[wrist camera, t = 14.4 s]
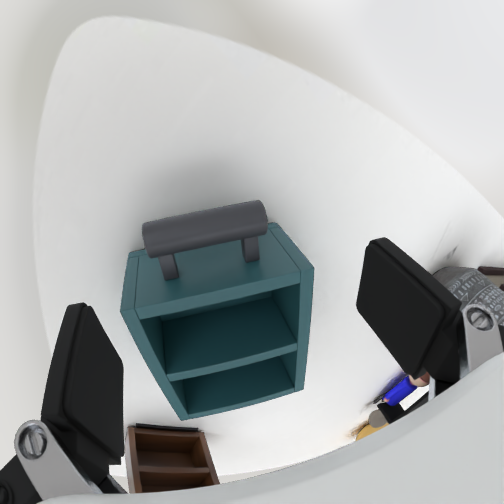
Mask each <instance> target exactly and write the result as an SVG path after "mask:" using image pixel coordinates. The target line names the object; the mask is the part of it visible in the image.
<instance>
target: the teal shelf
mask: <svg viewBox="0 0 504 504" xmlns="http://www.w3.org/2000/svg"><path fill="white" fill-rule="evenodd" d="M142 234H143V240H144V245H145V249H144V250H139V251H135V252H130V253H129V255H128V260H127V266H126V272H125V278H124V285H123V292H122V299H121V307H120V312H121V314H122V317H123V319H124V321H125V323H126V325H127V327H128V329H129V331H130V333H131V335H132V337H133V339H134V341H135V343H136V345H137V347H138V349H139V351H140V353H141V354H142V356H143V358H144V360H145V362H146V364H147V366H148V367H149V369H150V371H151V373H152V374H153V376H154V378H155V380H156V381H157V383H158V385H159V386H160V388H161V390H162V391H163V393H164V395H165V396H166V398H167V400H168V401H169V403H170V404H171V406H172V408H173V409H174V411H175V412H176V414H177V415H178V417H179V418H180V420H181V421H183V420H188V419H190V418H191V419H193V418H198V417H203V416H208V415H213V414H217V413H222V412H226V411H230V410H235V409H239V408H243V407H246V406H250V405H254V404H258V403H261V402H265V401H268V400H272V399H275V398H278V397H281V396H285V395H288V394H291V393H294V392H297V391H300V390H303V389H304V381H305V372H306V363H307V354H308V344H309V333H310V322H311V309H312V296H313V280H314V267H313V265H312V264H311V263H310V262H309V261H308V259H307V258H306V257H305V256H304V255H303V253H302V252H301V251H300V250H299V249H298V247H297V246H296V245H295V244H294V243H293V241H292V240H291V239H290V238H289V237H288V236H287V234H286V233H285V232H284V231H283V230H282V228H281V227H280V226H279V225H278V224H277V223H276V222H274V223H269V224H268V221H267V215H266V211H265V208H264V206H263V204H262V202H261V201H259V200H256V201H251V202H245V203H240V204H234V205H229V206H223V207H218V208H213V209H208V210H203V211H198V212H193V213H188V214H183V215H178V216H173V217H169V218H164V219H159V220H155V221H150V222H146V223H144V224H143V225H142Z"/></svg>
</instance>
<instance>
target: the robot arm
mask: <svg viewBox="0 0 504 504" xmlns="http://www.w3.org/2000/svg"><path fill="white" fill-rule="evenodd" d="M461 305H462V302H461V301H460V300H459V299H457V298H456V297H455V296H454V295H453V294H452V293H451V292H450V291H449V290H448V289H447V288H446V287H444V286H443V285H442V284H441V283H440V282H439V281H438V280H437V279H435V278H434V277H433V276H432V275H431V274H430V273H429V272H427V271H426V270H425V269H424V268H423V267H422V266H420V265H419V264H418V263H417V262H416V261H415V260H413V259H412V258H411V257H410V256H409V255H407V254H406V253H405V252H404V251H402V250H401V249H400V248H399V247H398V246H396V245H395V244H394V243H393V242H391V241H390V240H389V239H387V238H385V237H383V238H379V239H375V240H371V241H370V242H369V245H368V246H367V247H366V250H365V256H364V262H363V269H362V275H361V280H360V286H359V291H358V296H357V302H356V306H357V310H358V312H359V313H360V314H361V316H362V317H363V318H364V319H365V321H366V322H367V323H368V324H369V326H370V327H371V328H372V330H373V331H374V332H375V333H376V335H377V336H378V337H379V339H380V340H381V341H382V343H383V344H384V345H385V346H386V348H387V349H388V350H389V352H390V353H391V354H392V356H393V357H394V358H395V360H396V361H397V362H398V364H399V365H400V366H401V368H402V369H403V370H404V372H405V373H406V374H408V375H411V376H412V378H413V379H414V380H416V379H418V378H420V377H421V376H423V375H425V374H426V372H428V374H429V375H430V383H429V398H428V402H427V403H426V404H424V405H422V406H421V407H419V408H417V409H416V410H414V411H413V412H411V413H409V414H407V415H406V416H404V417H402V418H400V419H399V420H397V421H395V422H393V423H391V424H389V425H388V426H386V427H384V428H382V429H380V430H378V431H376V432H374V433H372V434H370V435H368V436H366V437H364V438H362V439H359V440H357V441H355V442H353V443H351V444H348V445H346V446H344V447H341V448H339V449H337V450H334V451H332V452H329V453H327V454H324V455H322V456H319V457H316V458H314V459H311V460H308V461H305V462H302V463H300V464H296V465H293V466H290V467H287V468H284V469H281V470H278V471H274V472H270V473H267V474H263V475H259V476H255V477H251V478H247V479H243V480H238V481H233V482H229V483H224V484H218V485H213V486H206V487H200V488H193V489H185V490H176V491H165V492H153V493H134V494H128V493H127V492H126V491H125V490H124V489H123V488H122V487H121V486H120V485H119V484H118V483H117V482H116V481H115V480H114V478H112V476H111V475H110V474H109V465H121V457H123V456H124V430H123V371H124V369H123V363H122V360H121V358H120V357H119V355H118V353H117V352H116V350H115V348H114V347H113V345H112V343H111V341H110V340H109V338H108V336H107V334H106V333H105V331H104V329H103V327H102V325H101V323H100V321H99V320H98V318H97V316H96V314H95V312H94V310H93V308H92V307H91V306H87V305H86V304H85V303H77V304H72V305H69V306H68V307H67V309H66V312H65V315H64V318H63V321H62V324H61V328H60V331H59V335H58V338H57V342H56V345H55V349H54V353H53V357H52V361H51V365H50V369H49V374H48V378H47V383H46V389H45V393H44V399H43V405H42V411H41V421H38V420H30V421H27V422H25V423H24V424H22V425H21V426H20V428H19V429H18V431H17V433H16V435H15V440H14V446H15V450H16V455H15V456H14V457H13V458H12V459H11V460H10V461H9V462H8V463H7V464H6V465H5V466H4V468H3V469H2V470H0V504H504V326H503V325H498V324H497V320H496V318H495V316H494V314H493V313H492V312H491V311H490V310H489V309H488V308H486V307H484V306H482V305H479V304H470V305H467V306H466V307H465V308H464V310H463V312H461V311H460V310H459V309H460V307H461Z"/></svg>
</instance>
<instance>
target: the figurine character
mask: <svg viewBox="0 0 504 504" xmlns="http://www.w3.org/2000/svg"><path fill="white" fill-rule="evenodd" d="M429 383H430V375H429V374H428V372H426V374H425V375H423V376H421V377H420V378H418V379H416V380H414V379H413V378H412V376H411V375H409V376H407V377H406V378H404V379H403V380H402V381H401V382H400V383H398V384H397V385H396V386H395V387H394V388H392V389H391V390H390V391H389V392H387V393H386V394H383V395H382V396H380V397H379V398H378V399H377V400H375V401H374V403H377V402H378V401H379V400H381V399H383V400H382V402H384V403H380V404H378V405H377V407H378V408H379V409H378V410H375V411H373V412H372V413H371V414H370V416H369V424H370V425H371V426H372V427H373V428H378V427H381V426H383V425H385V424H386V423H389V424H391V423H393V422H395V421H397V420H399V419H400V418H402V417H404V416H406V415H407V414H409V413H411V412H413V411H414V410H416V409H417V408H419V407H421V406H422V405H424V404H426V403H427V402H428V398H429V391H428V392H426V393H425V394H424V395H423V396H422V397H421V398H420V399H419V400H417V401H416V402H415V403H414V404H413V405H411V406H410V407H409V408H408V409H407V410H405V411H404V410H403V408H402V407H401V405H400V404H399V402H400V401H402V400H403V399H404V398H405V397H407V396H408V395H409V394H411V393H412V392H413V391H414V390H416V389H417V386H418V387H424V386H427V385H428V384H429ZM374 403H373V404H374Z"/></svg>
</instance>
